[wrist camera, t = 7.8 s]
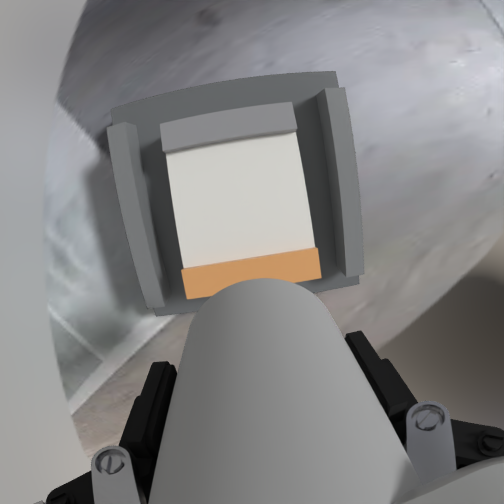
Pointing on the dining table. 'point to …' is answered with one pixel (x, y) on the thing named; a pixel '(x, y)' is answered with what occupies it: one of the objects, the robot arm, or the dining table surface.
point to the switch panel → (313, 163)
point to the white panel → (239, 198)
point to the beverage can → (275, 409)
